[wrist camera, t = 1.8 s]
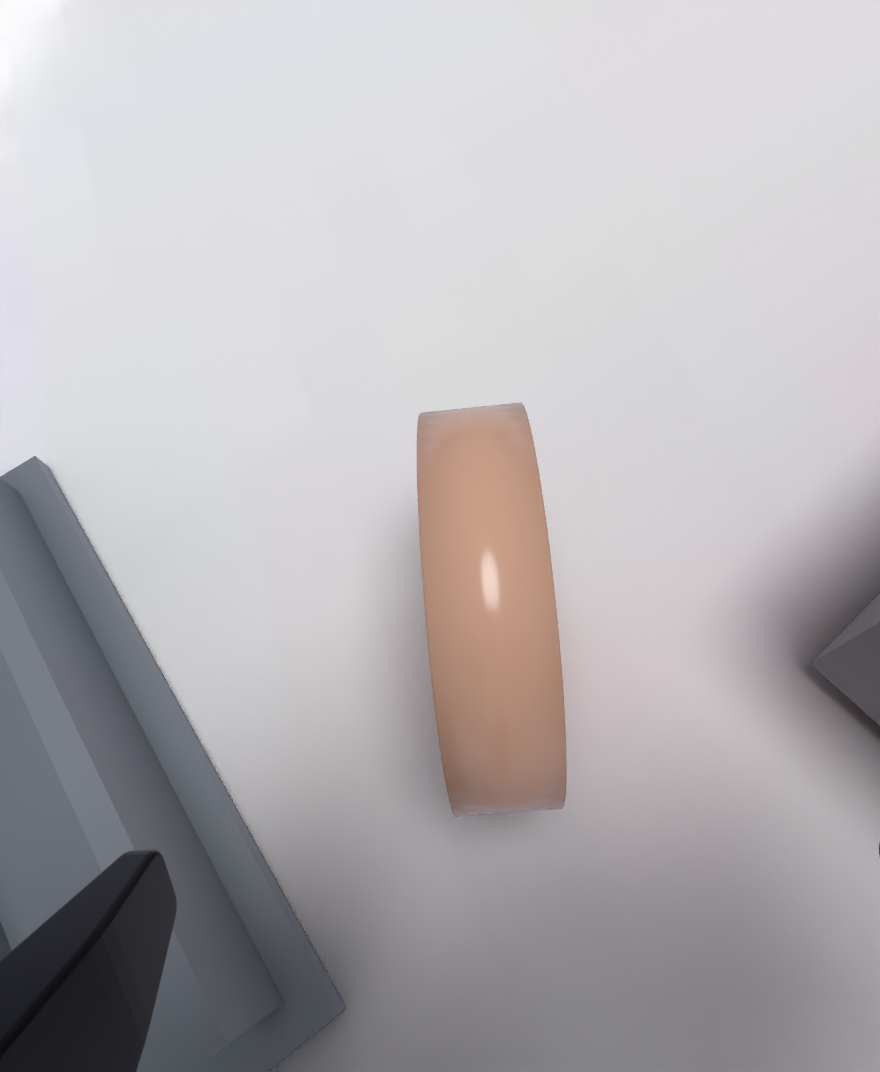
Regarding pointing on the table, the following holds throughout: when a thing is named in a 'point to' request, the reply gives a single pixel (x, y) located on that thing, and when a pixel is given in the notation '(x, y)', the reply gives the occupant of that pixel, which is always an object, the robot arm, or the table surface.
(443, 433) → the peach disc
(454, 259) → the table surface
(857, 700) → the organizer tray
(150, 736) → the dish rack
